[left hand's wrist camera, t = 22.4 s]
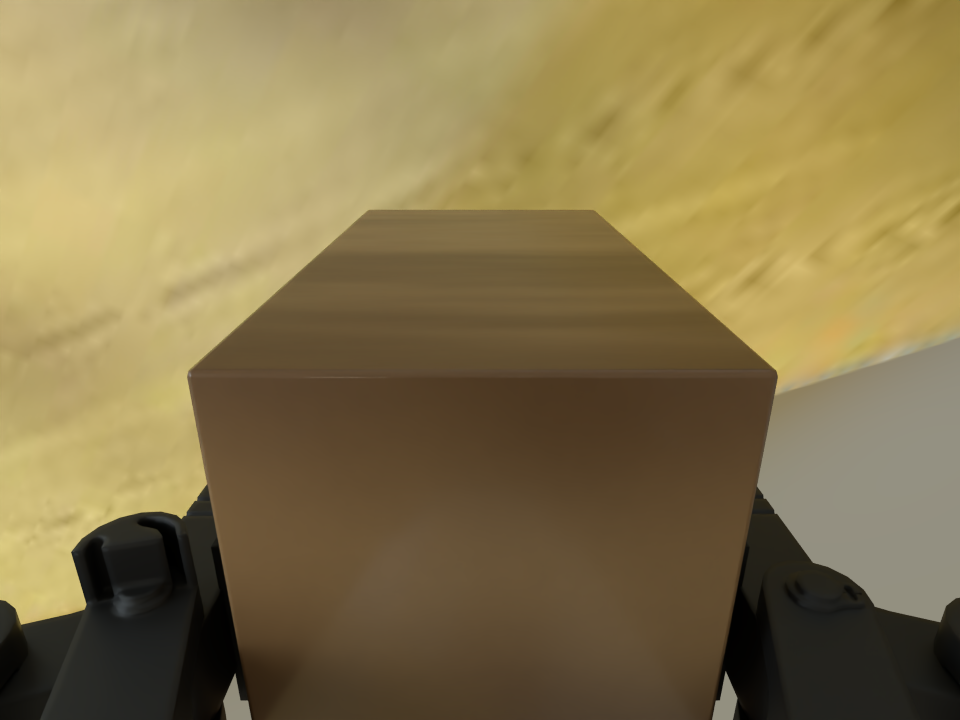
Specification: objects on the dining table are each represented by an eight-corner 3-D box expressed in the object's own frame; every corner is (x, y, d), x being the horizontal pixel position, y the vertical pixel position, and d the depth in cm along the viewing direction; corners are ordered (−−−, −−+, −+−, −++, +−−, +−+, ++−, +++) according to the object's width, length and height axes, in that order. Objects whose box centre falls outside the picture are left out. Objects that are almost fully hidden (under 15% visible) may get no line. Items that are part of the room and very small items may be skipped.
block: (367, 209, 15) (182, 371, 6) (595, 209, 15) (783, 372, 6) (387, 521, 18) (291, 943, 9) (574, 521, 18) (671, 944, 9)
